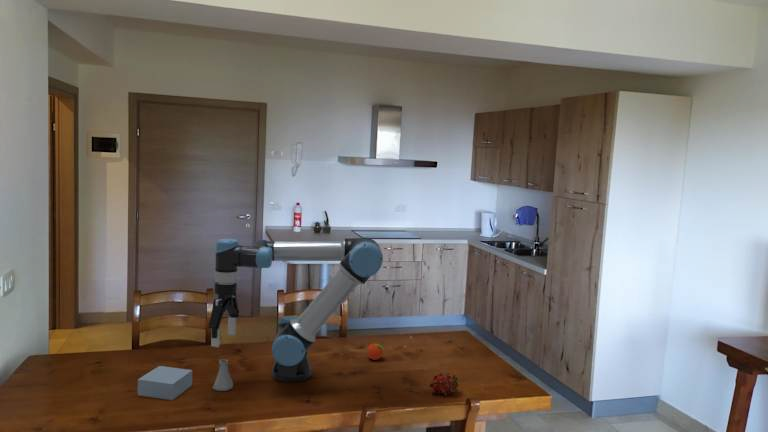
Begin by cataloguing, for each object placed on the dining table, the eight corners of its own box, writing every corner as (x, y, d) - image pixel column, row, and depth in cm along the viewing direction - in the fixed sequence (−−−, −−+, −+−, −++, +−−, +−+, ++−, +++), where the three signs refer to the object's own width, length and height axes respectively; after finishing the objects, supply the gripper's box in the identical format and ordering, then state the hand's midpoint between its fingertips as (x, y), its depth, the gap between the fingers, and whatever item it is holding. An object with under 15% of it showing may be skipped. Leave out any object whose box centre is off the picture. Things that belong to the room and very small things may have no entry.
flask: (227, 393, 195) (228, 365, 194) (208, 390, 197) (209, 363, 196) (236, 385, 202) (237, 358, 201) (218, 382, 204) (219, 356, 203)
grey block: (191, 386, 200) (192, 370, 199) (172, 401, 187) (172, 384, 187) (159, 381, 202) (159, 365, 201) (137, 396, 189) (137, 379, 189)
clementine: (387, 359, 237) (388, 343, 236) (378, 364, 231) (379, 347, 230) (372, 355, 241) (373, 339, 240) (363, 359, 235) (364, 343, 235)
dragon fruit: (460, 396, 207) (431, 404, 203) (451, 377, 213) (422, 384, 209) (465, 384, 201) (435, 392, 198) (456, 365, 207) (426, 371, 203)
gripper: (230, 274, 208) (228, 329, 210) (199, 289, 184) (197, 350, 186) (249, 276, 207) (247, 331, 209) (220, 291, 183) (218, 353, 185)
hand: (223, 340), depth 198 cm, fingers open, 13 cm apart
